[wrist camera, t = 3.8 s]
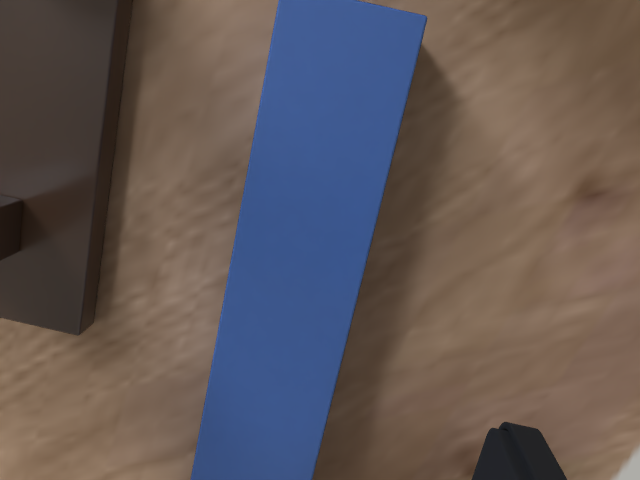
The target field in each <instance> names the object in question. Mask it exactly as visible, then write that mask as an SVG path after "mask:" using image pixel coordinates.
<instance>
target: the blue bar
mask: <svg viewBox="0 0 640 480" xmlns="http://www.w3.org/2000/svg"><path fill="white" fill-rule="evenodd" d="M426 22H427V17H426V16H425V15H420V14H416V13H411V12H407V11H402V10H398V9H393V8H389V7H384V6H380V5H375V4H371V3H366V2H362V1H357V0H279V2H278V7H277V13H276V18H275V24H274V29H273V35H272V40H271V46H270V51H269V56H268V62H267V67H266V73H265V78H264V84H263V89H262V94H261V100H260V105H259V111H258V116H257V122H256V127H255V133H254V138H253V143H252V149H251V154H250V160H249V165H248V171H247V176H246V181H245V187H244V192H243V198H242V203H241V209H240V214H239V219H238V225H237V230H236V236H235V241H234V247H233V252H232V258H231V263H230V268H229V274H228V279H227V285H226V290H225V296H224V301H223V306H222V312H221V317H220V323H219V328H218V334H217V339H216V345H215V350H214V355H213V361H212V366H211V372H210V377H209V383H208V388H207V393H206V399H205V404H204V410H203V415H202V421H201V426H200V432H199V437H198V442H197V448H196V453H195V459H194V464H193V470H192V475H191V480H312V478H313V474H314V470H315V466H316V462H317V458H318V454H319V450H320V446H321V442H322V438H323V434H324V430H325V426H326V422H327V418H328V414H329V410H330V406H331V402H332V398H333V394H334V390H335V386H336V382H337V378H338V374H339V370H340V366H341V362H342V358H343V354H344V350H345V346H346V342H347V338H348V334H349V330H350V326H351V322H352V318H353V314H354V310H355V306H356V302H357V298H358V294H359V290H360V286H361V282H362V278H363V274H364V270H365V266H366V262H367V258H368V254H369V250H370V246H371V242H372V238H373V234H374V230H375V226H376V222H377V218H378V214H379V210H380V206H381V202H382V198H383V194H384V190H385V186H386V182H387V178H388V174H389V170H390V166H391V162H392V158H393V154H394V150H395V146H396V142H397V138H398V134H399V130H400V126H401V122H402V118H403V114H404V110H405V106H406V102H407V98H408V94H409V90H410V86H411V82H412V78H413V74H414V70H415V66H416V62H417V58H418V54H419V50H420V46H421V42H422V38H423V34H424V30H425V26H426Z"/></svg>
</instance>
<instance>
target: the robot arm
mask: <svg viewBox="0 0 640 480" xmlns="http://www.w3.org/2000/svg"><path fill="white" fill-rule="evenodd" d="M472 480H567V478H566V477H565V475H564V473H563V471H562V469H561V468H560V466H559V464H558V462H557V461H556V459H555V457H554V455H553V453H552V452H551V450H550V448H549V446H548V444H547V443H546V441H545V439H544V437H543V435H542V434H541V432H540V431H539V430H538V429H535V428H531V427H526V426H522V425H517V424H513V423H508V422H504V423H502V424H501V426H500V427H499V429H496V428H491V429H490V430H489V432H488V434H487V436H486V439H485V442H484V445H483V448H482V451H481V454H480V457H479V460H478V463H477V466H476V469H475V472H474V475H473V477H472Z"/></svg>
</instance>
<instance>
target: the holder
mask: <svg viewBox="0 0 640 480" xmlns="http://www.w3.org/2000/svg"><path fill="white" fill-rule="evenodd" d="M131 7H132V0H0V318H4V319H9V320H13V321H17V322H22V323H26V324H30V325H35V326H39V327H43V328H48V329H52V330H56V331H61V332H65V333H69V334H74V335H80V334H81V333H83V332H84V331H85V330H86V329H87V328H88V327H90V326H91V325H92V324H93V322H94V314H95V305H96V297H97V289H98V280H99V272H100V264H101V256H102V247H103V239H104V231H105V222H106V214H107V206H108V198H109V189H110V181H111V173H112V164H113V156H114V148H115V140H116V131H117V123H118V115H119V106H120V98H121V90H122V82H123V73H124V65H125V57H126V48H127V40H128V32H129V24H130V15H131Z"/></svg>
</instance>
